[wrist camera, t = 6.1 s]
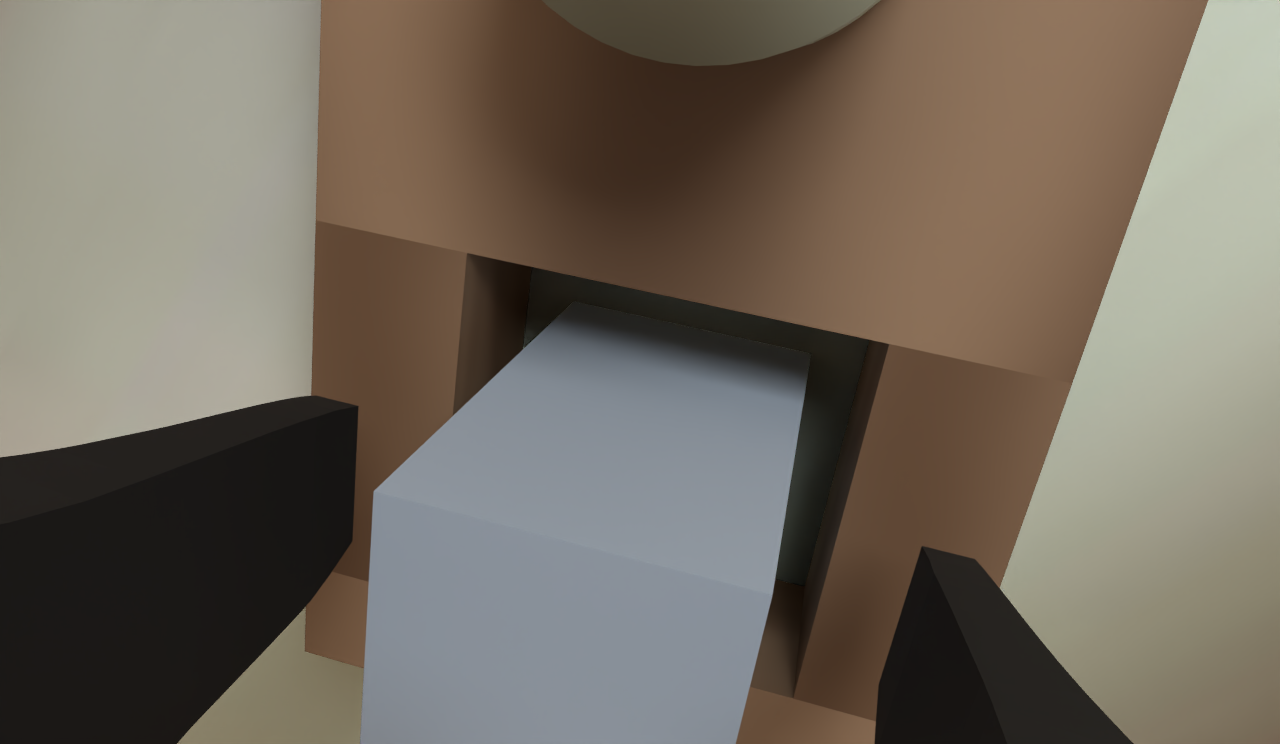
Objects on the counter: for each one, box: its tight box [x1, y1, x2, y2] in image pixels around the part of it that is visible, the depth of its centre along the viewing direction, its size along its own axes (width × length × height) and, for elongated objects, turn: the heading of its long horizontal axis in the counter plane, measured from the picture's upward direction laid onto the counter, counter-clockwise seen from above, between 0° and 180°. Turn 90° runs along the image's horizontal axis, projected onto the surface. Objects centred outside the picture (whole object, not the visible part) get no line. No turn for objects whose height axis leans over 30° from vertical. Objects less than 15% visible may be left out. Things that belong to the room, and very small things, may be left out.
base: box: [305, 0, 1208, 744], centre depth 12 cm, size 10×16×6 cm, turn 171°
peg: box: [360, 301, 811, 744], centre depth 13 cm, size 4×4×7 cm
